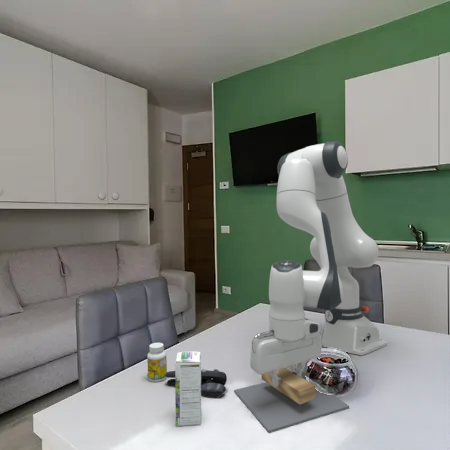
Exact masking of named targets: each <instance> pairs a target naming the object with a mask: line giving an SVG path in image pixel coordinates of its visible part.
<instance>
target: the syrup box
mask: <svg viewBox="0 0 450 450" xmlns="http://www.w3.org/2000/svg"><path fill="white" fill-rule="evenodd" d="M201 355H202V353H201V352H200V351H193V350H192V351H181V352H180V351H179V352H177V353H176V358H175V364H174V365H175V366H174V367H175V368H174V369H175V370H174V371H175V378H174V379H175V386H174V387H175V388H174V389H175V392H174V393H175V394H174V395H175V396H174V397H175V427H185V426H196V425H197V426H198V425H202V395H201V370H202V356H201Z"/></svg>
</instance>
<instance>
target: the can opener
mask: <svg viewBox="0 0 450 450" xmlns="http://www.w3.org/2000/svg"><path fill="white" fill-rule="evenodd" d="M165 376H166V378H167V379H168V380H167V382H166V384H167V386H171V387H175V370H171V371H170V370H169V371H167V373H166V375H165ZM169 378H170V379H169ZM227 381H228V377H227V373H225V372H223V371H219V369H216V368H215V369H213V370H208V369H207V370H206V369H204V368H203V369H202V368H201V397H202V396H203V397H206V398H218V397H221V396H222V395H224V393H225V392H226V391H227V390H226V389H227V387H225V385H226V383H227Z"/></svg>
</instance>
